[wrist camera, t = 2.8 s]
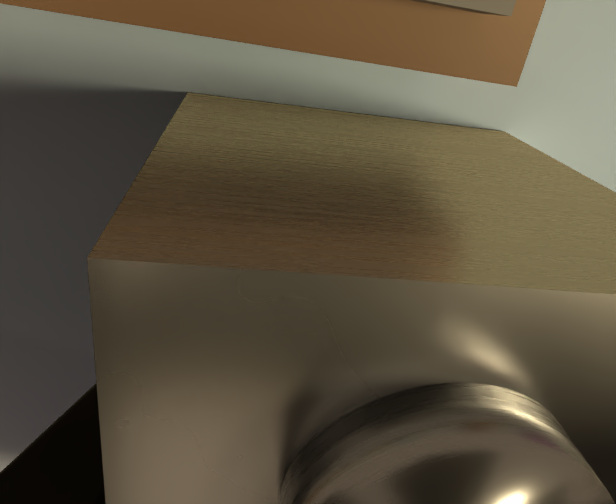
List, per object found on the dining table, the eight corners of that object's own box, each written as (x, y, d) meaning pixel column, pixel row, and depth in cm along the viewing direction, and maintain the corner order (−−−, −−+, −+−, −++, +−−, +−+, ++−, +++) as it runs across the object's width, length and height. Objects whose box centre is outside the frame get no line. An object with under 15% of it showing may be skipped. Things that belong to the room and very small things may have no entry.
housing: (395, 468, 12) (504, 823, 7) (177, 466, 11) (117, 869, 6) (505, 131, 8) (929, 364, 3) (188, 92, 7) (46, 324, 2)
